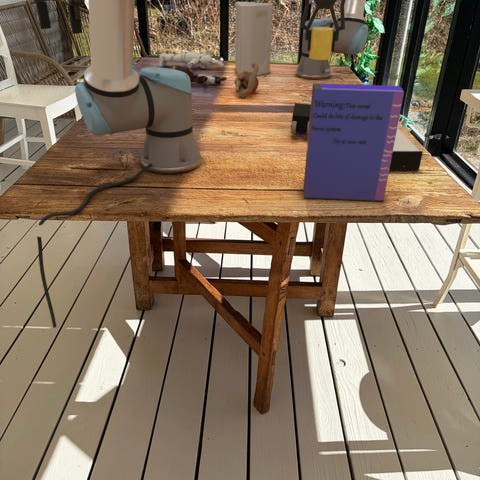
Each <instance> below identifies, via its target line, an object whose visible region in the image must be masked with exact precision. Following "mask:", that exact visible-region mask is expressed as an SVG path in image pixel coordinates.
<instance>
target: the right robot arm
mask: <svg viewBox="0 0 480 480" xmlns="http://www.w3.org/2000/svg"><path fill="white" fill-rule="evenodd" d="M337 1H338V5H339V16H338V17H337V16H336V12H335V9H334V5H335V4H336V2H337ZM312 2H314V4H315V7H314V9H313V12H312V14H311V16H310V18H309V20H307V17H308V13H309V8H310V5H311V4H312ZM366 2H367V0H305V4H304V5H305V6H304V10H303V14H302V20H301V23H300V28H301V29H302V30H303V31H302V45H301V57H300V61H299V62H298V65H297V68H296V71H295V76H296V77H297V78H300V79H307V80H327V79H329V78H331V73H332V72H331V65H330V61H329V59H328V60H315V59H310V58H309V51H310V41H311V28H313V27H330V28H333V29H334V32H333V42H332V51H331V54H332V53H333V54H342V55H343V54H344V55H349V56H350V55H359V54H360V53H361V52H362V51H363V49H364V47H365V46H366V42H367V39H368V35H369V26H368V25H367V24H366V22H367V20H366V19H365V17H364V13H365V6H366ZM320 10H329V12H330V15H331V18H328V17H327V18H316V17H317V14H318V13H319V11H320Z"/></svg>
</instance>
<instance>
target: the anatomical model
mask: <svg viewBox="0 0 480 480" xmlns="http://www.w3.org/2000/svg"><path fill="white" fill-rule="evenodd" d="M252 67H253V68H254V70H253V72H249V71H245V70H243V71H241V72H240V74H239V75H238V74H237V76H236V77H235V79H234V85H235V91H234V92H235V93H238V98H241V99H242V98H243V99H245V98H246V97H247V96H248V95H250V94H252V93H253V92H256V90H257V89H258V88H259V85H260V84H259V79H258V77H257V76H258V75H257V73H258V70H259V67H258V65H257V64H256V63H253V64H252ZM256 75H257V76H256Z"/></svg>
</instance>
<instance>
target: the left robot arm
mask: <svg viewBox="0 0 480 480" xmlns="http://www.w3.org/2000/svg"><path fill="white" fill-rule="evenodd" d="M135 1H136V0H88V21H89V46H90V47H89V49H90V65H89V66H88V67H87V68H85V70H84V72H83V82H78V83H77V84H75V87H74V93H75V98H76V102H77V105H78V109H79V111H80V114H81V117H82V119H83V121H84V124H85V126H86V128H87V129H88V130H89V132H90V133H91V134H93V135H95V136H106V135H110V136H113V135H114V134H119V133H125V132H130V131H136V130H142V129H145V138H144V142H143V146H142V150H141V154H140V162H141V166H142V169H141V170H140V171H138V173H136V174H135V175H134V176H132V177H130V178H128V179H125V180H121V181H117V182H113V183H109V184H105V185H100V186H98V187H96V188H94V189H92V190H91V191H90V192H88V194H87V195H86V196H85V197H84V199H83V201H82V203H81V204H80V205H79V206H78V207H76V208H75V209H73V210H69V211H68V210H67V211H57V212H52V213H48V214H46V215H45V216H43V218H41V219H40V221H39V223H38V224H37V226H42V225H44V223H45V222H46V221H47V220H49V219H51V218H54V217H61V216H62V217H63V216H64V217H65V216H70V215H74V214H77V213H78V212H80V211H81V210H83V209H84V207H86V205H87V203H88V201H89V200H90V198H91V197H92V196H93V195H94V194H95V193H97V192H99V191H102V190H106V189H108V188H109V189H110V188H113V187H118V186H122V185H125V184H128V183H130V182H133V181H135V180H137V179H138V178H139V177H140V176H141V175H142V174H143V173H145V172H146V171H149V172H151V173H156V174H163V175H164V174H165V175H169V174H170V175H172V174H173V175H175V174H182V173H187V172H190V171H193V170H195V169H197V168H198V167H199V166H201V163H202V155H201V151H200V149H199V146H198V143H197V141H196V137H195V135H194V130H193V129H194V126H193V99H192V98H193V97H192V94H193V91H192V83H191V82H190V78H189V76H188V75H187V74H186V73H184V72H182V71H179V70H174V69H173V68H168V67H167V68H166V67H159V66H157V67H155V66H147V67H142V68H141V69H140V72H139V74H138V72H137V71H136V70H135V69H134V41H135V39H134V37H135V34H134V33H135V3H136V2H135ZM33 2H34V3H35V6H36V13H37V17H38V20H39V26H40V29H41V30H47V29H52V25H51V19H50V13H49V8H48V2H47V0H33ZM67 2H68V4H67V10H68V14H69V22H70V29H71V34H72V35H77V34H83V26H82V14H81V7H80V6H81V5H82V4H84V3H85V2H86V0H67ZM36 240H37V251H38V265H39V271H40V277H41V282H42V287H43V291H44V295H45V299H46V302H47V307H48V310H49V314H50V319H51V323H52V328H54V329H55V328H57V320H56V316H55V312H54V308H53V304H52V299H51V295H50V293H49V289H48V284H47V279H46V274H45V268H44V267H45V266H44V257H43V256H44V255H43V241H42V236H36Z"/></svg>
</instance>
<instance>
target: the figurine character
mask: <svg viewBox="0 0 480 480" xmlns="http://www.w3.org/2000/svg"><path fill="white" fill-rule="evenodd" d="M310 109H311V103H298V102H294V105H293V111H292V117H291V124H290V133H291V134H294V139H296V140H297V139H298V136H303V137H304V138H303V139H304V140H306V139H307V140H308V131H309V120H310Z"/></svg>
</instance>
